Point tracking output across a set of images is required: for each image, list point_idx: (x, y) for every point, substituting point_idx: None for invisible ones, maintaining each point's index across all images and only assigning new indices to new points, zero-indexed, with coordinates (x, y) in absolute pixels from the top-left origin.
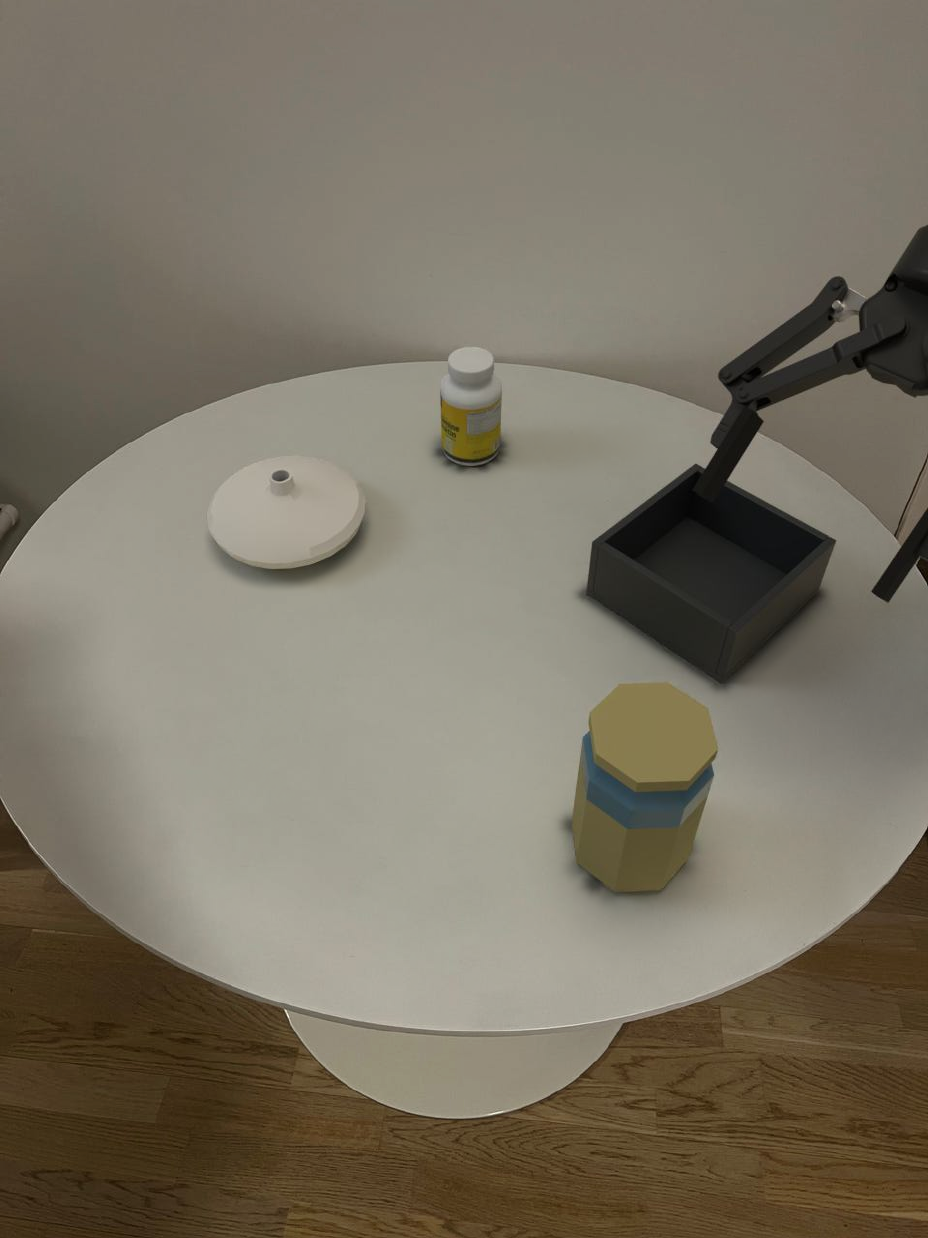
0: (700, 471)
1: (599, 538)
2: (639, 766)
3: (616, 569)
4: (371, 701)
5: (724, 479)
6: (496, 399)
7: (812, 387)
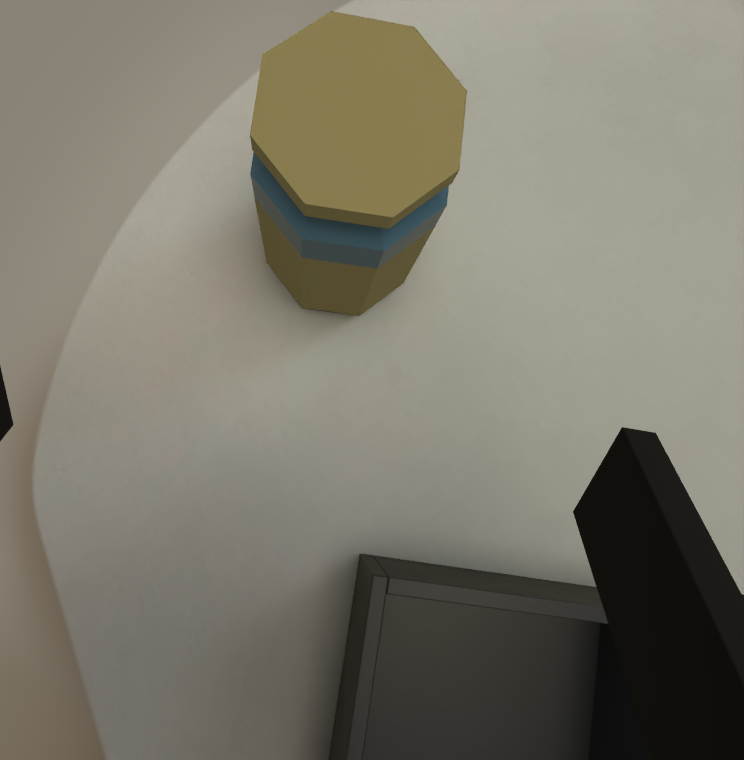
0: None
1: None
2: (343, 38)
3: None
4: (707, 251)
5: (603, 560)
6: None
7: None
